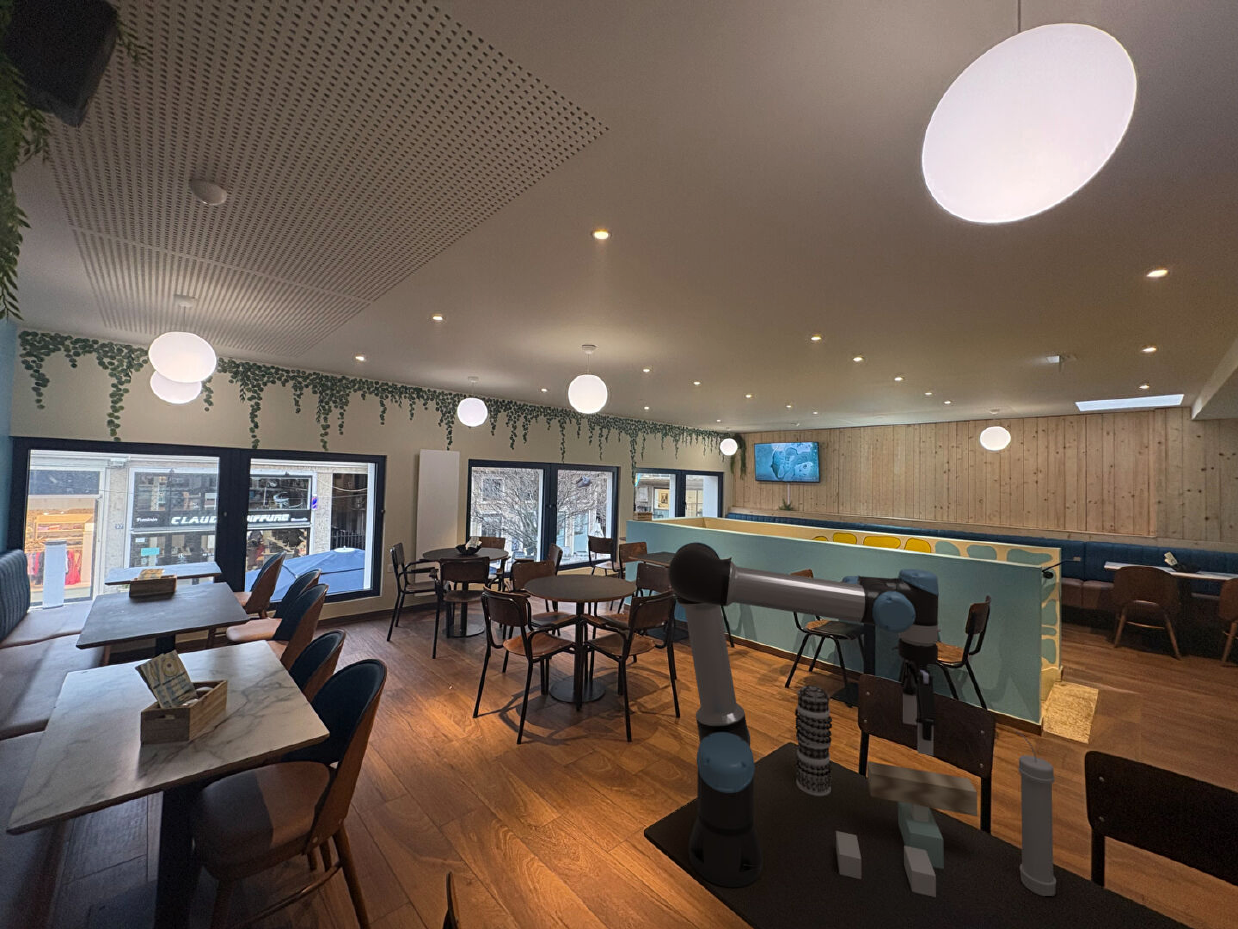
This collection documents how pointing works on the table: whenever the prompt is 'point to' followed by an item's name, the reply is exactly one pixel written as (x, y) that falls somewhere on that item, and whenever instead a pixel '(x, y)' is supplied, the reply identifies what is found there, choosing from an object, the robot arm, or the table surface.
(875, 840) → the table surface
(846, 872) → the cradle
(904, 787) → the wooden block
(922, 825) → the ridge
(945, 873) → the table surface
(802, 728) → the studded grey cylinder
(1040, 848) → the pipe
